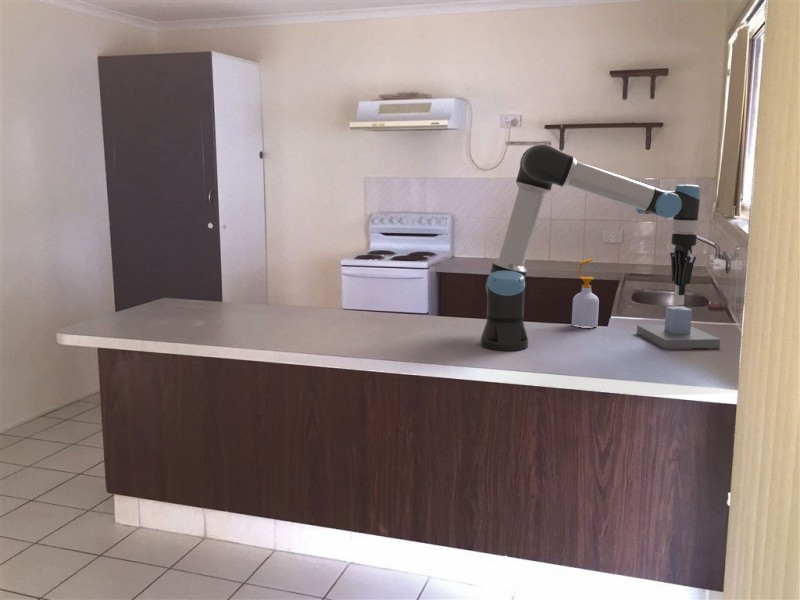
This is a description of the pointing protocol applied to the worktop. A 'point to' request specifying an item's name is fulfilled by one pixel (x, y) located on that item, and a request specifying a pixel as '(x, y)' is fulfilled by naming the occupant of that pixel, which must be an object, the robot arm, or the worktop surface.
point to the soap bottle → (585, 304)
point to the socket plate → (678, 338)
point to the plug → (678, 320)
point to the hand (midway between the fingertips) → (678, 304)
